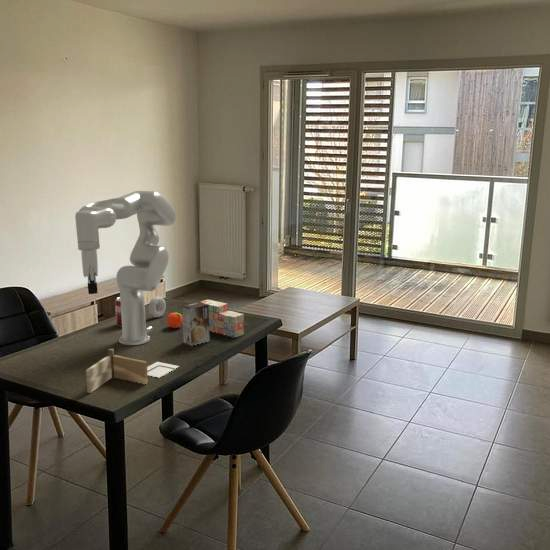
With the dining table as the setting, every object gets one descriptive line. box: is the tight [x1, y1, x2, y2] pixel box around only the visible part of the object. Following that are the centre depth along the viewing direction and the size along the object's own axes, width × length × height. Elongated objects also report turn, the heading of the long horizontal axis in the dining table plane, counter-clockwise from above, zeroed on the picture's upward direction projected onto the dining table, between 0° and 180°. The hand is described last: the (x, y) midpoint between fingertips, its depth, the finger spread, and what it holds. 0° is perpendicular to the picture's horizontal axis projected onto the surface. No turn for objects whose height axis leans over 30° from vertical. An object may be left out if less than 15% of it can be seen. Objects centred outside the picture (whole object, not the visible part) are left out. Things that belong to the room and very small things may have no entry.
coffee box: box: [181, 301, 211, 347], centre depth 257 cm, size 9×6×16 cm
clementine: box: [166, 311, 183, 329], centre depth 277 cm, size 8×7×7 cm
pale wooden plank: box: [85, 355, 113, 394], centre depth 214 cm, size 14×1×8 cm, turn 165°
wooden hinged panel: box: [107, 348, 149, 385], centre depth 219 cm, size 2×16×10 cm, turn 63°
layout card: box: [147, 361, 180, 379], centre depth 229 cm, size 12×10×1 cm
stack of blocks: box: [200, 299, 245, 339], centre depth 271 cm, size 21×6×12 cm, turn 51°
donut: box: [148, 296, 167, 319], centre depth 292 cm, size 10×4×10 cm, turn 145°
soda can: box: [114, 297, 122, 328], centre depth 280 cm, size 7×7×12 cm
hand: (93, 293), depth 232 cm, fingers closed
